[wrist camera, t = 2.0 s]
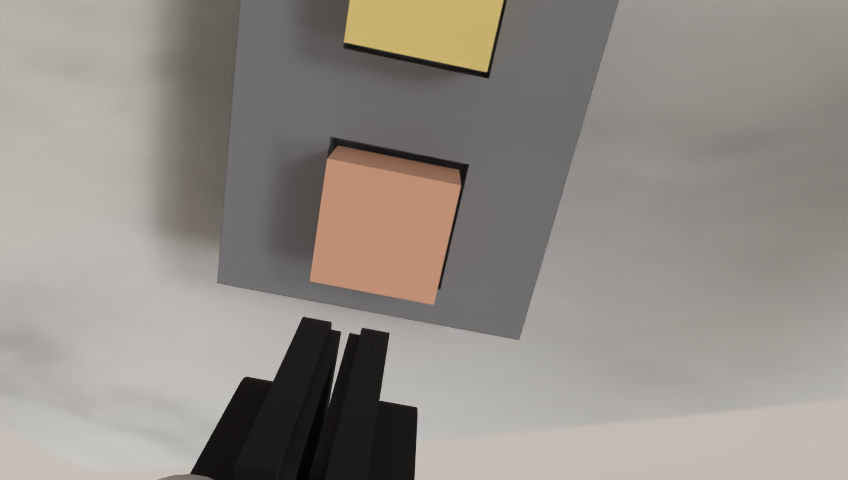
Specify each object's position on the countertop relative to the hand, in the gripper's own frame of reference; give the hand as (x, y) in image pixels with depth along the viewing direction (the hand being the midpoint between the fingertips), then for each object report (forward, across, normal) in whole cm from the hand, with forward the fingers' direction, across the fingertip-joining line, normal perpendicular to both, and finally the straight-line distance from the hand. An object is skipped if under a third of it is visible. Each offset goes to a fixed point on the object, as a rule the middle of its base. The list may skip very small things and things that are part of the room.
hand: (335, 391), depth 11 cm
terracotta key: (+11, 0, 0) cm, 11 cm away
